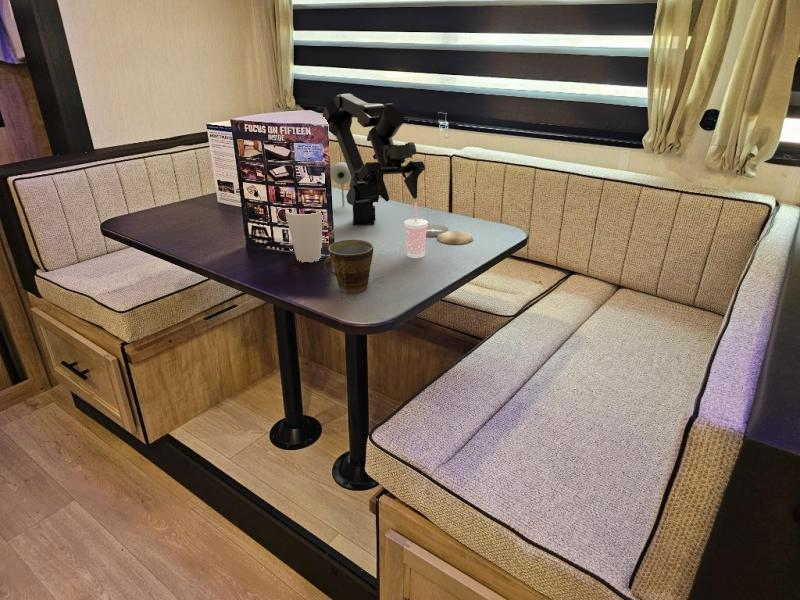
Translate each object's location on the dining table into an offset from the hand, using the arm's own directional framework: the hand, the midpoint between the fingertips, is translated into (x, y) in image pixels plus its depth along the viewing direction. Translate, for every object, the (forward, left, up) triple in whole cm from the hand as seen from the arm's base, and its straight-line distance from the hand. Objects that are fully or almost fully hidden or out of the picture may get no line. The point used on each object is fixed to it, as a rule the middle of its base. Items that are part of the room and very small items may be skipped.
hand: (402, 199), depth 144 cm
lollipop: (-18, +40, -13) cm, 46 cm away
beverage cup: (+3, -8, -13) cm, 15 cm away
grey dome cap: (+9, +11, -13) cm, 19 cm away
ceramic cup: (-14, -29, -13) cm, 35 cm away
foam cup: (-25, -8, -13) cm, 29 cm away
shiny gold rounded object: (+15, +4, -13) cm, 20 cm away
